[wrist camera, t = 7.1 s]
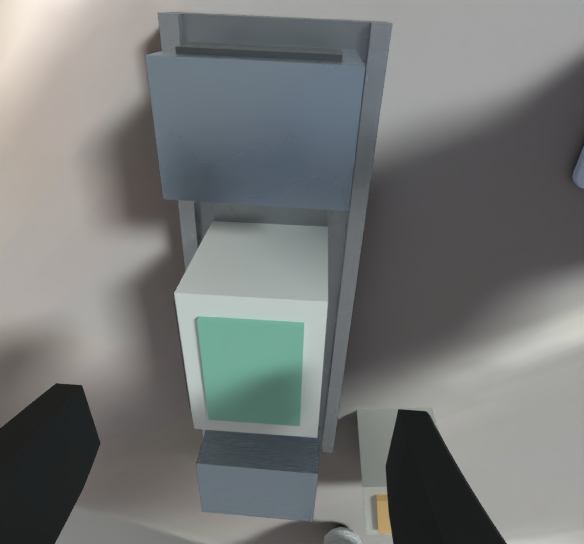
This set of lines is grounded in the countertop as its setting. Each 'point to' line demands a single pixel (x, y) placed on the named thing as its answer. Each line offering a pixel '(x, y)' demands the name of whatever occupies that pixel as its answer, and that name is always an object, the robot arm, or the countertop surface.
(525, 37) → the countertop surface
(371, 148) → the rail
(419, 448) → the robot arm
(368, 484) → the block
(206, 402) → the block
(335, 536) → the light bulb
